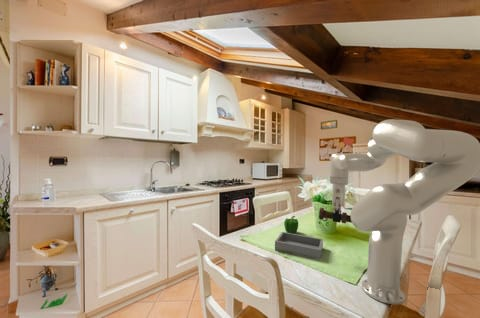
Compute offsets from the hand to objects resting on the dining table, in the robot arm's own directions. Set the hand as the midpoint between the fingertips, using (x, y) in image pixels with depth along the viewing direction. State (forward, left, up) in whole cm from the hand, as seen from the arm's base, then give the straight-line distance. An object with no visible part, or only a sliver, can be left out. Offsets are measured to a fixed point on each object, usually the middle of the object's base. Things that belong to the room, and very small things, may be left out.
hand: (336, 219), depth 101 cm
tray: (+1, +17, -18) cm, 24 cm away
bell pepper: (+21, +25, -18) cm, 37 cm away
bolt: (0, 0, -1) cm, 1 cm away
